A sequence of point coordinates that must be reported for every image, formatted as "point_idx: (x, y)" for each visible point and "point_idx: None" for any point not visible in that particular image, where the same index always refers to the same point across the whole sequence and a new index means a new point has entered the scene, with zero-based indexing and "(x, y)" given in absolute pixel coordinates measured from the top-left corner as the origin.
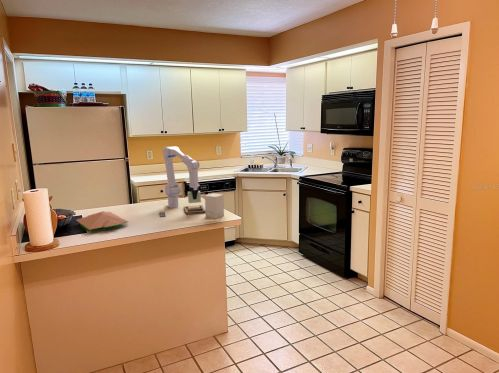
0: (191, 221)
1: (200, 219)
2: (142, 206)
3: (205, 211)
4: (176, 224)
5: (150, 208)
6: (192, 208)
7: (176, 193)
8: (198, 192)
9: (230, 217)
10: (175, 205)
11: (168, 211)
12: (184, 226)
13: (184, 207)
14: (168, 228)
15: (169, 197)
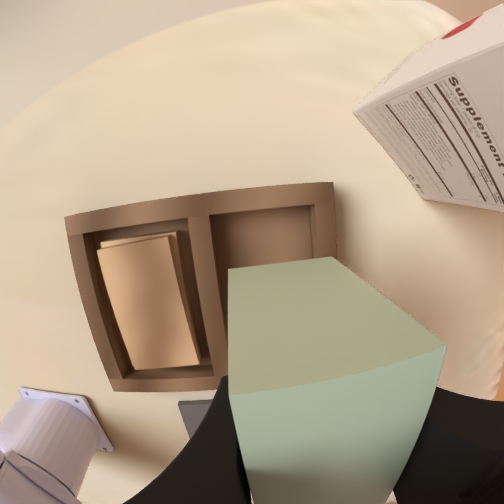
0: (460, 305)
1: (447, 244)
2: (84, 500)
3: (459, 204)
4: (464, 374)
5: (111, 493)
6: (189, 325)
7: (24, 477)
8: (427, 395)
9: (428, 29)
10: (83, 429)
11: (170, 453)
12: (501, 329)
13: (145, 389)
14: (485, 388)
15: (76, 496)
